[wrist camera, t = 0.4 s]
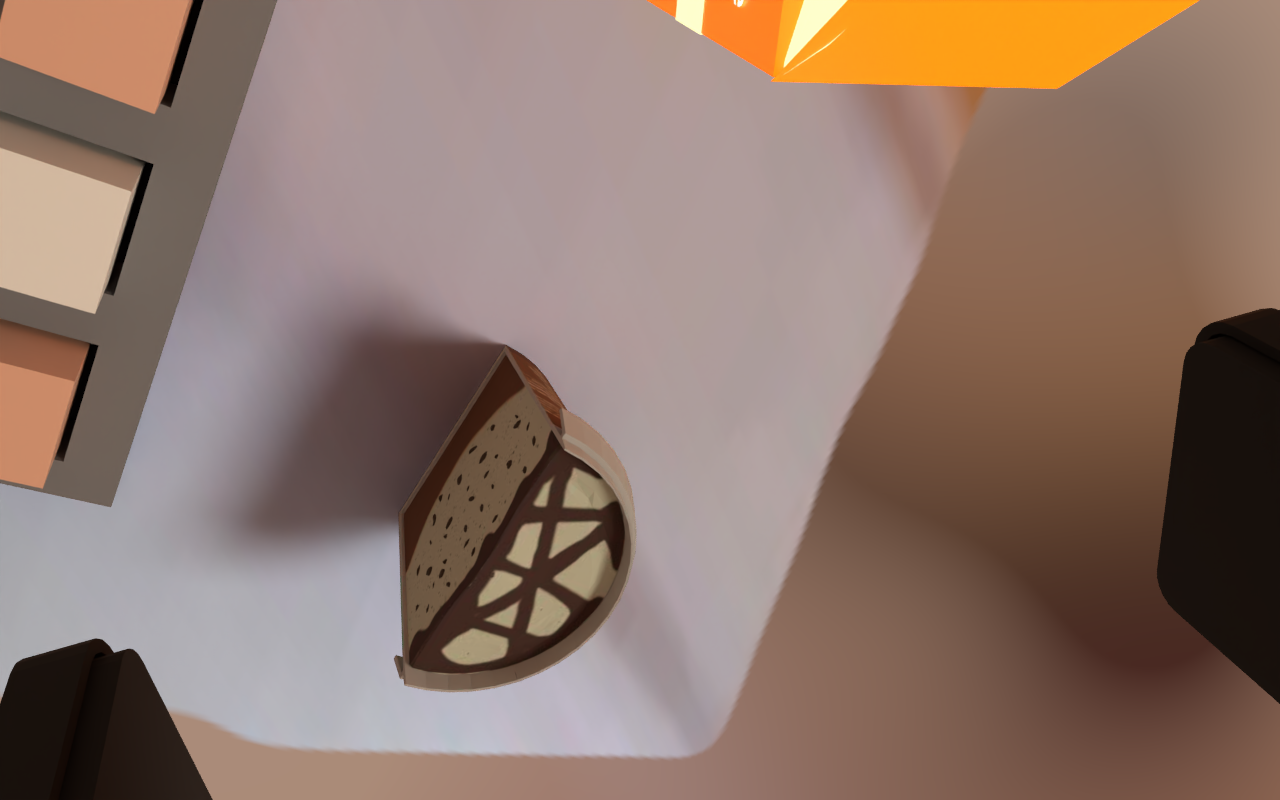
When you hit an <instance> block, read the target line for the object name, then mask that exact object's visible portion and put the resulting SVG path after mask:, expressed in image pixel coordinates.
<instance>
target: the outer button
mask: <svg viewBox="0 0 1280 800" xmlns="http://www.w3.org/2000/svg"><path fill="white" fill-rule="evenodd" d="M90 346H91V343H88V342H84V341H80V340H77V339H73V338H70V337H66V336H62V335H59V334H55V333H51V332H48V331H44V330H40V329H37V328H33V327H30V326H26V325H22V324H19V323H15V322H11V321H8V320H4V319H0V479H1V480H6V481H10V482H15V483H19V484H24V485H29V486H33V487H38V488H42V489H43V487H44V484H45V482H46V479H47V476H48V474H49V471H50V469H51V466H52V463H53V461H54V458H55V456H56V453H57V450H58V448H59V445H60V443H61V440H62V438H63V435H64V432H65V429H66V426H67V423H68V419H69V416H70V413H71V409H72V406H73V403H74V399H75V396H76V393H77V389H78V386H79V383H80V379H81V376H82V373H83V370H84V366H85V363H86V360H87V356H88V353H89V350H90Z"/></svg>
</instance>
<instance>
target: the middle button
mask: <svg viewBox="0 0 1280 800" xmlns="http://www.w3.org/2000/svg"><path fill="white" fill-rule="evenodd" d="M145 163H146V161H143V160H140V159H138V158H135V157H132V156H129V155H126V154H123V153H120V152H117V151H115V150H112V149H109V148H106V147H103V146H100V145H97V144H94V143H91V142H89V141H86V140H83V139H80V138H77V137H74V136H71V135H68V134H66V133H63V132H60V131H57V130H54V129H51V128H48V127H45V126H43V125H40V124H37V123H34V122H31V121H28V120H25V119H22V118H20V117H17V116H14V115H11V114H8V113H5V112H2V111H0V287H2V288H6V289H9V290H12V291H16V292H19V293H23V294H26V295H30V296H33V297H37V298H40V299H44V300H47V301H51V302H54V303H58V304H61V305H65V306H68V307H72V308H75V309H79V310H82V311H86V312H89V313H93V314H95V313H96V310H97V308H98V305H99V303H100V301H101V298H102V296H103V293H104V291H105V289H106V286H107V284H108V281H109V279H110V277H111V274H112V272H113V269H114V266H115V263H116V260H117V256H118V253H119V250H120V246H121V243H122V240H123V237H124V233H125V230H126V227H127V223H128V220H129V217H130V213H131V210H132V207H133V203H134V200H135V197H136V193H137V190H138V187H139V183H140V180H141V177H142V173H143V170H144V167H145Z"/></svg>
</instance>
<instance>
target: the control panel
mask: <svg viewBox="0 0 1280 800" xmlns="http://www.w3.org/2000/svg"><path fill="white" fill-rule="evenodd" d="M276 2H277V0H204V1H203V4H202V7H201V10H200V14H199V17H198V20H197V24H196V27H195V30H194V34H193V37H192V40H191V43H190V47H189V50H188V53H187V57H186V60H185V63H184V66H183V70H182V73H181V76H180V80H179V83H178V86H177V85H175V84H172V83H170V84H169V86H168V88H167V90H166V92H165V94H164V96H163V98H162V100H161V102H160V104H159V106H158V108H157V110H156V112H155V114H153V113H150V112H148V111H145V110H142V109H139V108H137V107H134V106H131V105H128V104H126V103H123V102H120V101H117V100H115V99H112V98H109V97H107V96H104V95H101V94H98V93H96V92H93V91H90V90H87V89H85V88H82V87H79V86H77V85H74V84H71V83H68V82H66V81H63V80H60V79H57V78H55V77H52V76H49V75H46V74H44V73H41V72H38V71H36V70H33V69H30V68H27V67H25V66H22V65H19V64H16V63H14V62H11V61H8V60H6V59H3V58H0V111H2V112H5V113H8V114H11V115H14V116H17V117H20V118H22V119H25V120H28V121H31V122H34V123H37V124H40V125H43V126H45V127H48V128H51V129H54V130H57V131H60V132H63V133H66V134H68V135H71V136H74V137H77V138H80V139H83V140H86V141H89V142H91V143H94V144H97V145H100V146H103V147H106V148H109V149H112V150H115V151H117V152H120V153H123V154H126V155H129V156H132V157H135V158H138V159H140V160H143V161H146V162H149V163H152V164H154V165H153V169H152V172H151V175H150V178H149V182H148V185H147V188H146V192H145V195H144V198H143V201H142V205H141V208H140V211H139V215H138V218H137V221H136V225H135V228H134V231H133V234H132V238H131V241H130V244H129V248H128V251H127V254H126V257H125V261H124V263H121V262H117V261H116V263H115V266H114V269H113V272H112V274H111V277H110V279H109V281H108V284H107V286H106V289H105V291H104V293H103V296H102V298H101V301H100V303H99V305H98V308H97V310H96V313H95V314H93V313H89V312H86V311H82V310H79V309H75V308H72V307H68V306H65V305H61V304H58V303H54V302H51V301H47V300H44V299H40V298H37V297H33V296H30V295H26V294H23V293H19V292H16V291H12V290H9V289H6V288H2V287H0V319H4V320H8V321H11V322H15V323H19V324H22V325H26V326H30V327H33V328H37V329H40V330H44V331H48V332H51V333H55V334H59V335H62V336H66V337H70V338H73V339H77V340H80V341H84V342H88V343H91V344H95V345H99V346H98V350H97V353H96V356H95V359H94V363H93V366H92V369H91V373H90V376H89V379H88V383H87V386H86V389H85V392H84V396H83V399H82V402H81V406H80V409H79V412H78V415H77V419H76V421H73V420H69V419H68V423H67V426H66V429H65V432H64V435H63V438H62V440H61V443H60V445H59V448H58V450H57V453H56V456H55V458H54V461H53V463H52V466H51V469H50V471H49V474H48V476H47V479H46V482H45V484H44V487H43V489H42V488H38V487H33V486H29V485H24V484H19V483H15V482H10V481H6V480H1V479H0V483H2V484H6V485H11V486H16V487H20V488H25V489H29V490H34V491H39V492H43V493H48V494H53V495H57V496H62V497H66V498H71V499H76V500H80V501H85V502H89V503H94V504H99V505H103V506H108V507H111V506H112V503H113V500H114V497H115V494H116V490H117V487H118V484H119V481H120V478H121V475H122V472H123V469H124V466H125V463H126V460H127V457H128V454H129V451H130V448H131V445H132V442H133V439H134V436H135V432H136V429H137V426H138V423H139V420H140V417H141V414H142V411H143V408H144V405H145V402H146V399H147V396H148V393H149V390H150V387H151V384H152V381H153V378H154V375H155V371H156V368H157V365H158V362H159V359H160V356H161V353H162V350H163V347H164V344H165V341H166V338H167V335H168V332H169V329H170V326H171V323H172V320H173V317H174V314H175V310H176V307H177V304H178V301H179V298H180V295H181V292H182V289H183V286H184V283H185V280H186V277H187V274H188V271H189V268H190V265H191V262H192V259H193V256H194V252H195V249H196V246H197V243H198V240H199V237H200V234H201V231H202V228H203V225H204V222H205V219H206V216H207V213H208V210H209V207H210V204H211V201H212V198H213V195H214V191H215V188H216V185H217V182H218V179H219V176H220V173H221V170H222V167H223V164H224V161H225V158H226V155H227V152H228V149H229V146H230V143H231V140H232V137H233V133H234V130H235V127H236V124H237V121H238V118H239V115H240V112H241V109H242V106H243V103H244V100H245V97H246V94H247V91H248V88H249V85H250V82H251V79H252V76H253V72H254V69H255V66H256V63H257V60H258V57H259V54H260V51H261V48H262V45H263V42H264V39H265V36H266V33H267V30H268V27H269V24H270V21H271V18H272V14H273V11H274V8H275V5H276ZM4 3H5V0H0V19H1V15H2V11H3V7H4Z"/></svg>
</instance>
